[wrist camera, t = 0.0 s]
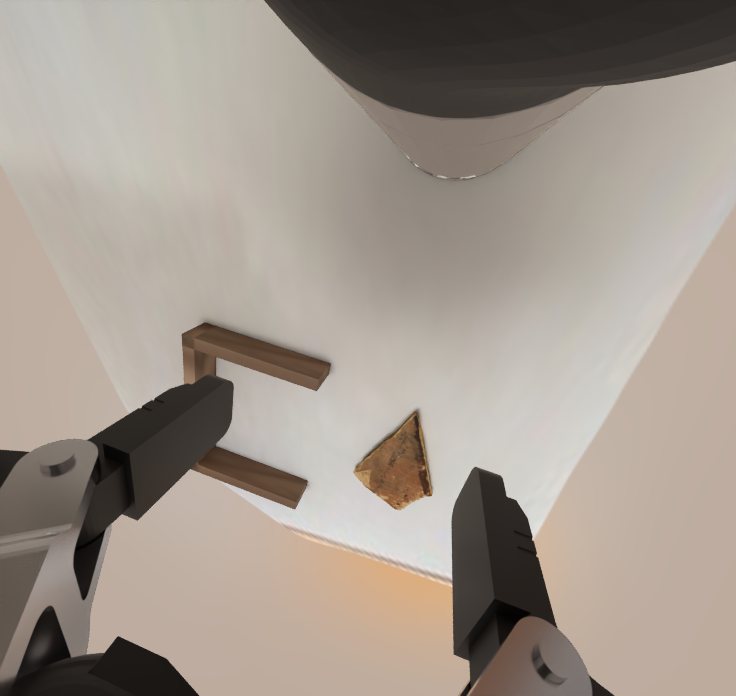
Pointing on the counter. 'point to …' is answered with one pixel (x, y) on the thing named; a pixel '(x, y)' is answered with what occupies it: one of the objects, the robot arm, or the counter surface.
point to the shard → (398, 467)
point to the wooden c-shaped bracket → (262, 357)
